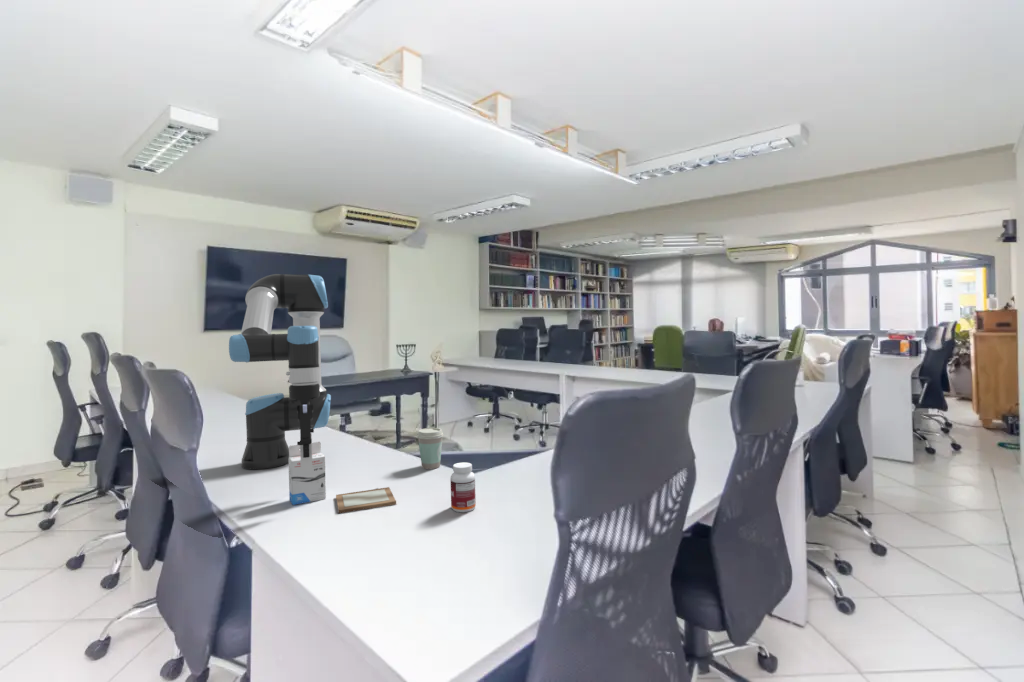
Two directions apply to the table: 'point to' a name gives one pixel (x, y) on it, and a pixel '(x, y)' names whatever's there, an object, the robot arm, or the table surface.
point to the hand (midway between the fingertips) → (306, 463)
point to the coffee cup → (430, 447)
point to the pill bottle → (463, 488)
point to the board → (365, 500)
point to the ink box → (306, 476)
